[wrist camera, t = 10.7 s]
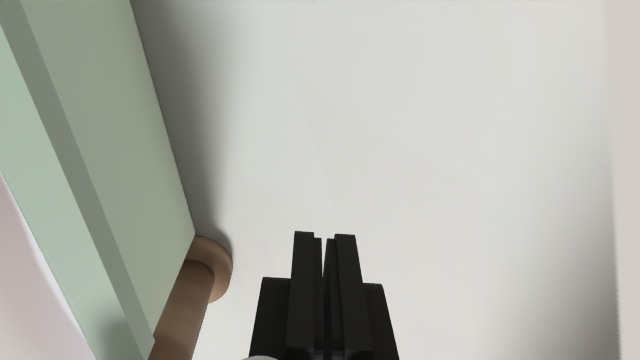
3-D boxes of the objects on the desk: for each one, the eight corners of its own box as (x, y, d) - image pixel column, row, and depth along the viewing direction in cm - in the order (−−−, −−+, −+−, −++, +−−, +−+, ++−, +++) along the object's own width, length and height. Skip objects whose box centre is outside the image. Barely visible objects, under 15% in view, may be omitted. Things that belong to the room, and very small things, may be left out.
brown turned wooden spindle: (235, 291, 24) (178, 553, 13) (166, 293, 24) (51, 558, 13) (228, 235, 22) (155, 486, 11) (153, 236, 22) (7, 491, 11)
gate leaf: (199, 232, 21) (145, 364, 14) (168, 235, 21) (100, 368, 14) (108, -97, 15) (-78, -157, 8) (64, -92, 15) (-161, -148, 8)
